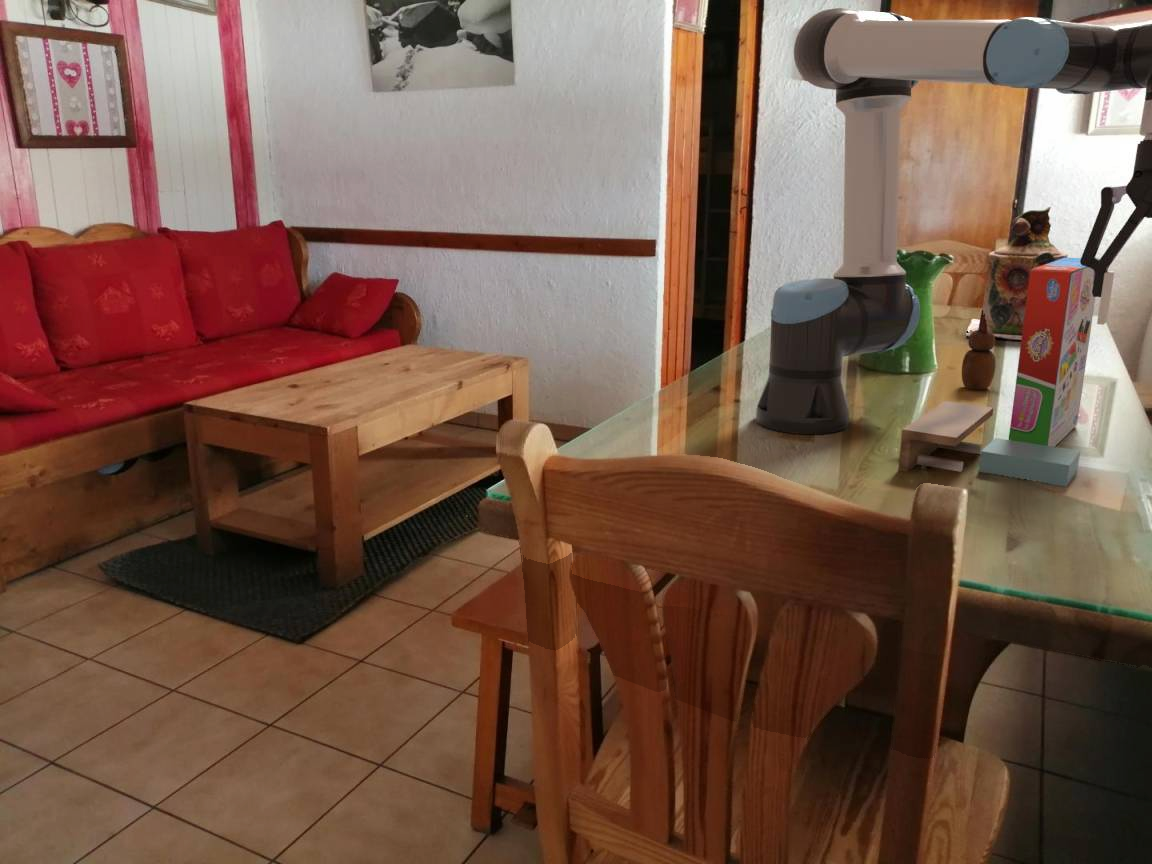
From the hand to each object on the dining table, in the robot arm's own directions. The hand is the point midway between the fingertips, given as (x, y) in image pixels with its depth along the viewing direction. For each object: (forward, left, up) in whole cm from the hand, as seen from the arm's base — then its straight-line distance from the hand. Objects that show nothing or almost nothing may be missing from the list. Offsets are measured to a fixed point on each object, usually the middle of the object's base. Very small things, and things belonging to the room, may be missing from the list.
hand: (1144, 326), depth 114 cm
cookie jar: (-37, +119, -22) cm, 126 cm away
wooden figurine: (-30, +49, -22) cm, 61 cm away
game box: (-13, +19, -22) cm, 32 cm away
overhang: (-22, 0, -21) cm, 31 cm away
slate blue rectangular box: (-11, 0, -21) cm, 24 cm away
